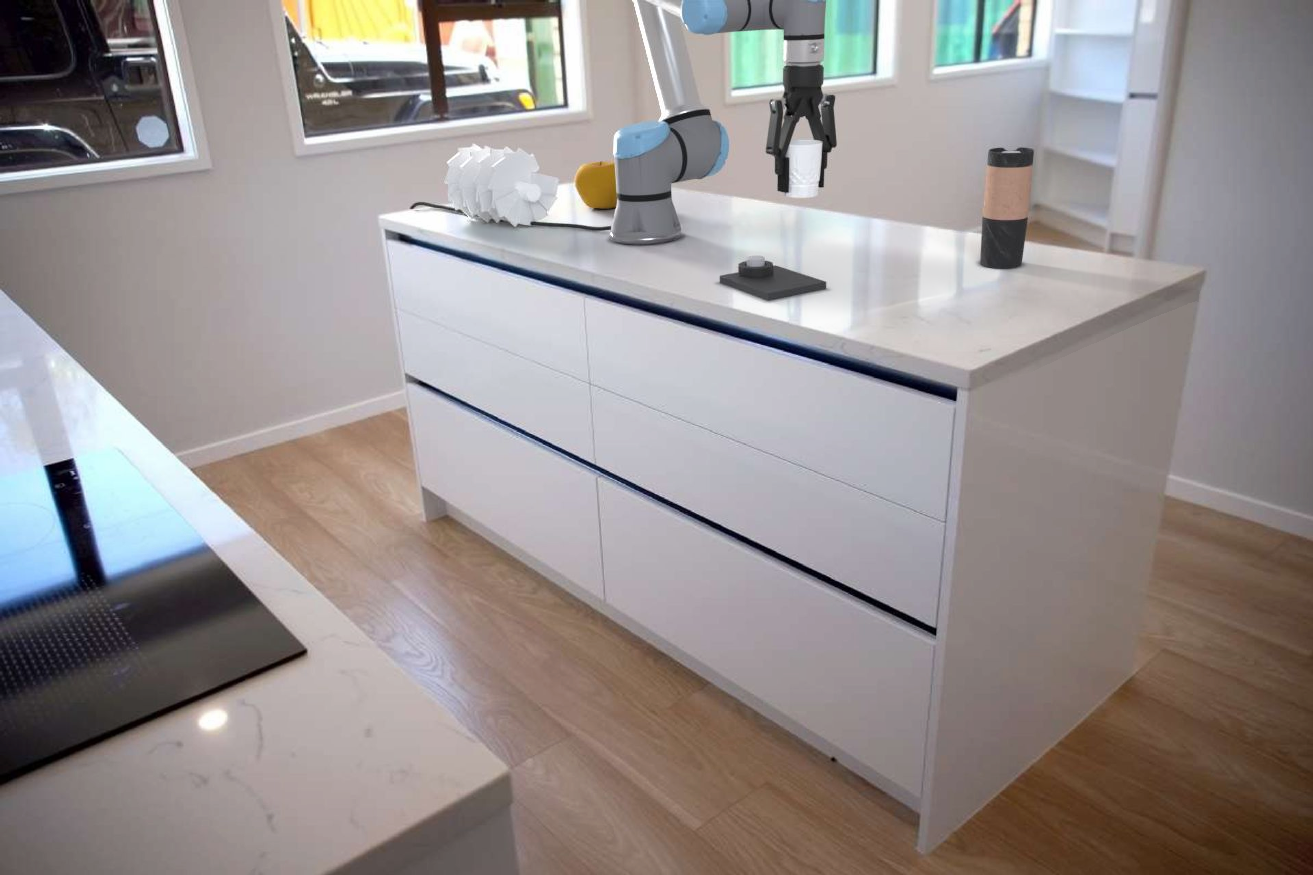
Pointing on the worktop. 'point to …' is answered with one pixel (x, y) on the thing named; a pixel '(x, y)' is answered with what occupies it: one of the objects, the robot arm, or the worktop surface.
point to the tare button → (755, 261)
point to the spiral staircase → (499, 185)
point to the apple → (597, 184)
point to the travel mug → (1006, 207)
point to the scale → (771, 281)
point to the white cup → (804, 168)
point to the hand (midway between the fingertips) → (800, 189)
